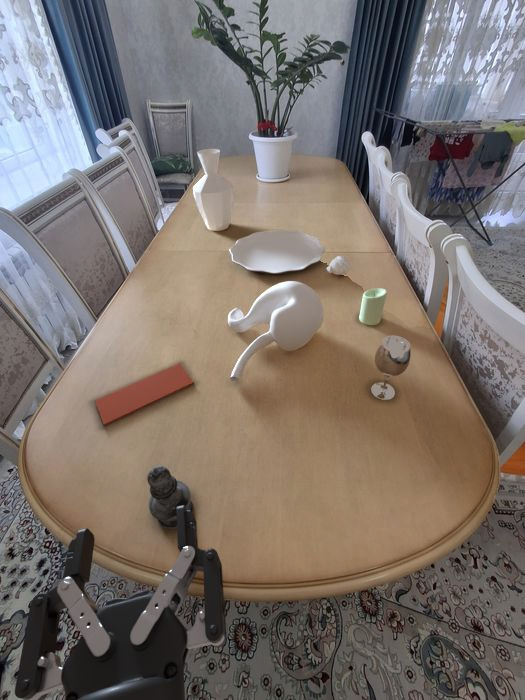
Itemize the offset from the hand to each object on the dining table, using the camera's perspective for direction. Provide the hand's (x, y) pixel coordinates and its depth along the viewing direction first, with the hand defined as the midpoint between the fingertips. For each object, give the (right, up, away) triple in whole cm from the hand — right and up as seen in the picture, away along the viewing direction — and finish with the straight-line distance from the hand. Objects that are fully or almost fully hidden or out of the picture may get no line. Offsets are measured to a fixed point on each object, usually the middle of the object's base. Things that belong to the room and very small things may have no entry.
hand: (135, 520), depth 32 cm
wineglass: (+35, +7, +36) cm, 50 cm away
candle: (+38, +23, +53) cm, 69 cm away
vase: (-5, +62, +99) cm, 117 cm away
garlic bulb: (+33, +37, +69) cm, 85 cm away
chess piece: (-1, -8, +20) cm, 22 cm away
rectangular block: (-12, +7, +38) cm, 40 cm away
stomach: (+15, +17, +48) cm, 53 cm away
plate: (+16, +45, +79) cm, 93 cm away
